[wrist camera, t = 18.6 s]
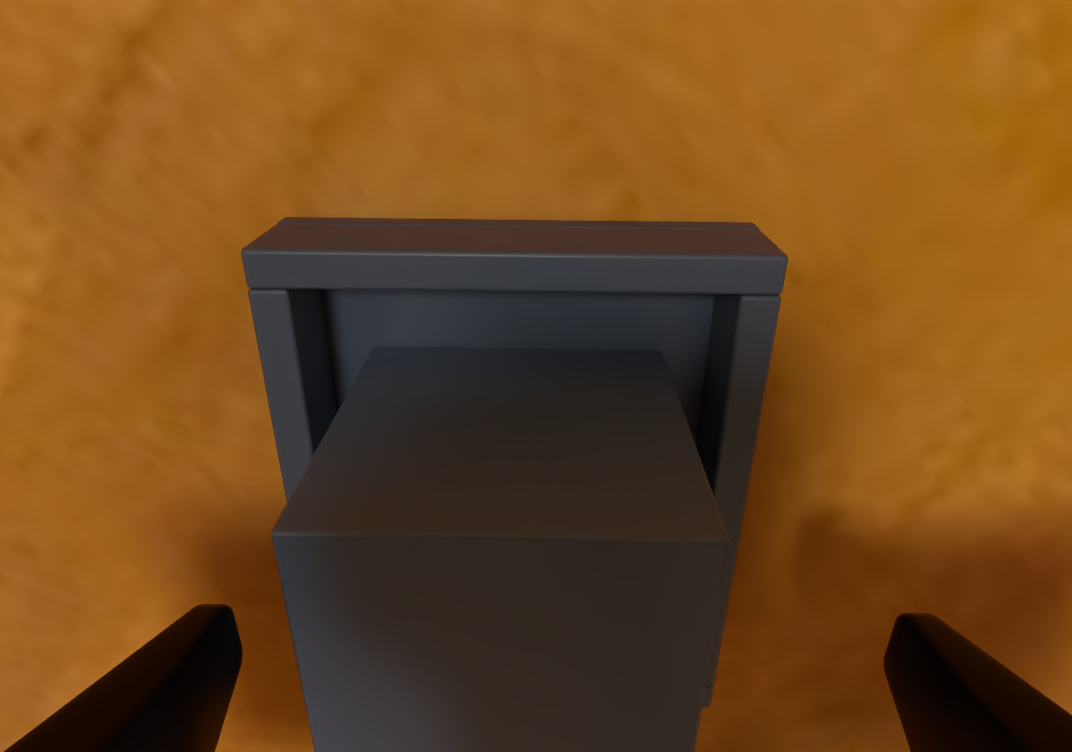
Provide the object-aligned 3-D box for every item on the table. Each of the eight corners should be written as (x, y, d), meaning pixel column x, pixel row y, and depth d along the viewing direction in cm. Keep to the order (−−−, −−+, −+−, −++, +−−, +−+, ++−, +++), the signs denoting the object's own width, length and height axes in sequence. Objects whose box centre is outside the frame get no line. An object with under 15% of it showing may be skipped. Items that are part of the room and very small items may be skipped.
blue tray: (693, 633, 15) (711, 709, 14) (346, 627, 16) (322, 701, 14) (753, 222, 11) (790, 255, 10) (284, 216, 11) (237, 248, 10)
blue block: (640, 573, 14) (683, 824, 10) (395, 569, 14) (326, 816, 10) (662, 349, 12) (731, 539, 7) (372, 345, 12) (267, 532, 8)
